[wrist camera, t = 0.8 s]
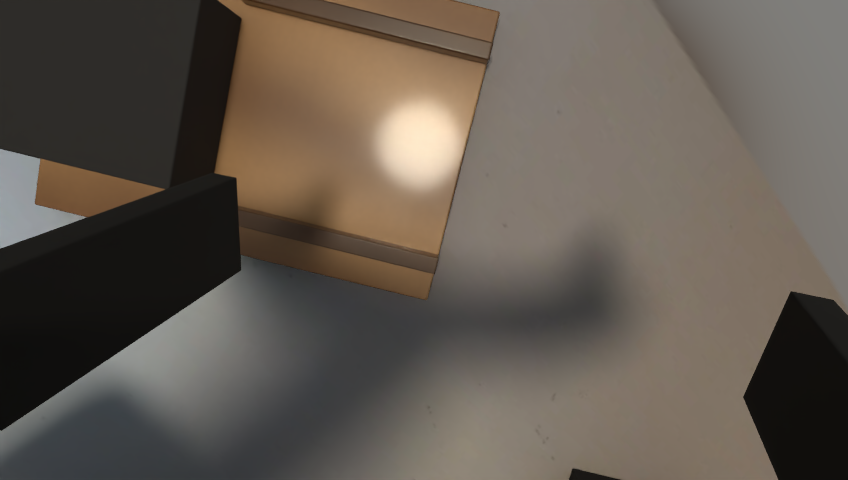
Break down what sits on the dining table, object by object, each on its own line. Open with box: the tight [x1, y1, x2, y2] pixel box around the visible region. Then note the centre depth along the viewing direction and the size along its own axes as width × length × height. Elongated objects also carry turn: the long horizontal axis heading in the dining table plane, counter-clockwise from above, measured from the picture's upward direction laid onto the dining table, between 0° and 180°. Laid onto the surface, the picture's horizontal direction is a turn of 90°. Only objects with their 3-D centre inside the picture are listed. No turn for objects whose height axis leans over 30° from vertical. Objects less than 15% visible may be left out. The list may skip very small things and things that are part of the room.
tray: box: [35, 0, 500, 300], centre depth 24 cm, size 14×20×2 cm
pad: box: [0, 0, 241, 189], centre depth 22 cm, size 8×8×4 cm
